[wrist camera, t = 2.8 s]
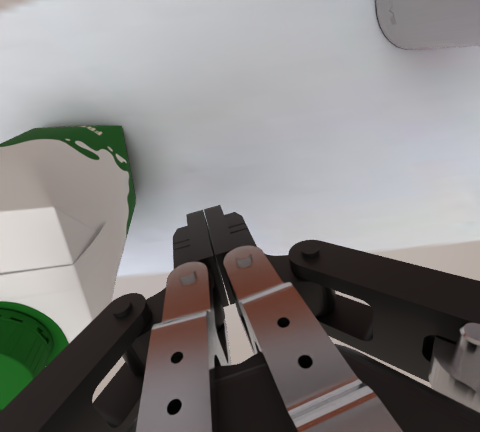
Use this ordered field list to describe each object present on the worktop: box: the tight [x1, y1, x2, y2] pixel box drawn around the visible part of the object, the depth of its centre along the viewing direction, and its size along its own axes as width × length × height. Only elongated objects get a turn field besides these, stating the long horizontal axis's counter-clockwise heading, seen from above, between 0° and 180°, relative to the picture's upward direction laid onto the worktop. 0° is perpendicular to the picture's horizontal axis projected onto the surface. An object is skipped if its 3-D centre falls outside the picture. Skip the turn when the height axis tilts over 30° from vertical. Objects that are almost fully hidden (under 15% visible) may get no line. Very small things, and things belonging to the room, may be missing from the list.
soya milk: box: [0, 126, 136, 412], centre depth 19 cm, size 9×9×20 cm
